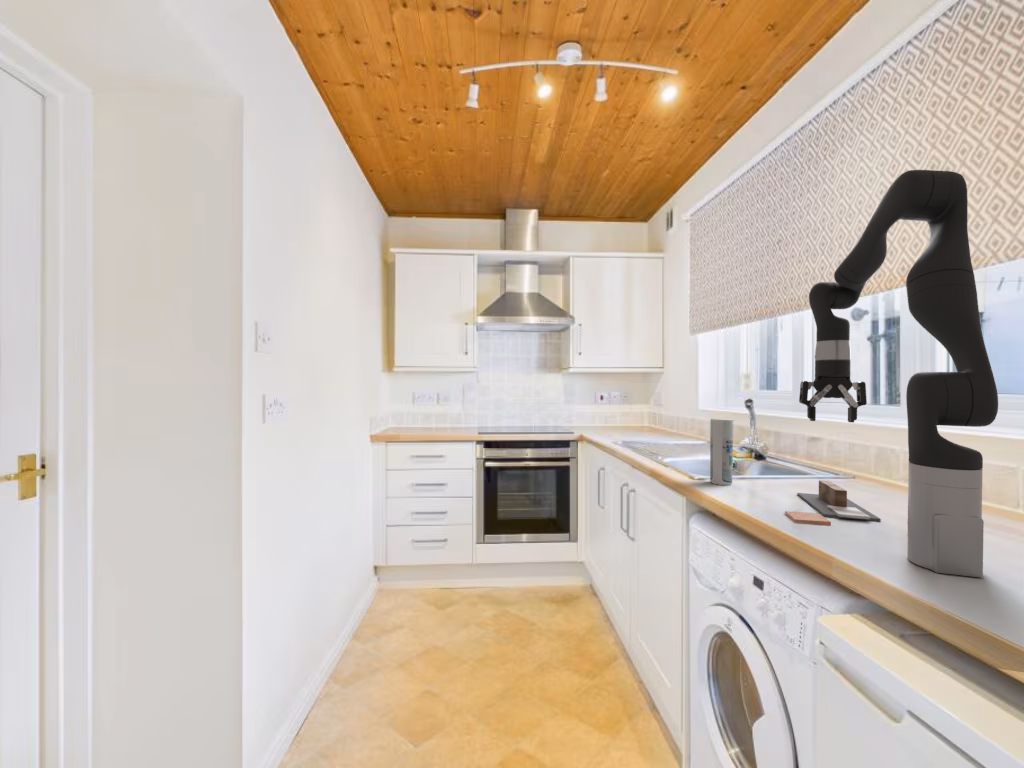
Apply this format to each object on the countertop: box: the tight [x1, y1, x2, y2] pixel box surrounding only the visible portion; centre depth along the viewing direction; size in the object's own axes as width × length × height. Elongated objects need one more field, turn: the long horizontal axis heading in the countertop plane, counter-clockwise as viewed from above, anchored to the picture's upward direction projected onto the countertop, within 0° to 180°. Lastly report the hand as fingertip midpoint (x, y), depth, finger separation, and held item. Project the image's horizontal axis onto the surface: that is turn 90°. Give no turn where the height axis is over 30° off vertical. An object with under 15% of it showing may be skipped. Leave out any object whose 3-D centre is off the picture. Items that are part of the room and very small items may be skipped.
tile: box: [784, 510, 832, 526], centre depth 105 cm, size 1×7×7 cm
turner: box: [818, 479, 870, 519], centre depth 114 cm, size 20×6×4 cm, turn 162°
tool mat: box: [797, 492, 882, 522], centre depth 116 cm, size 22×11×1 cm, turn 162°
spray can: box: [709, 417, 734, 486], centre depth 142 cm, size 6×6×20 cm
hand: (831, 421), depth 118 cm, fingers open, 8 cm apart
